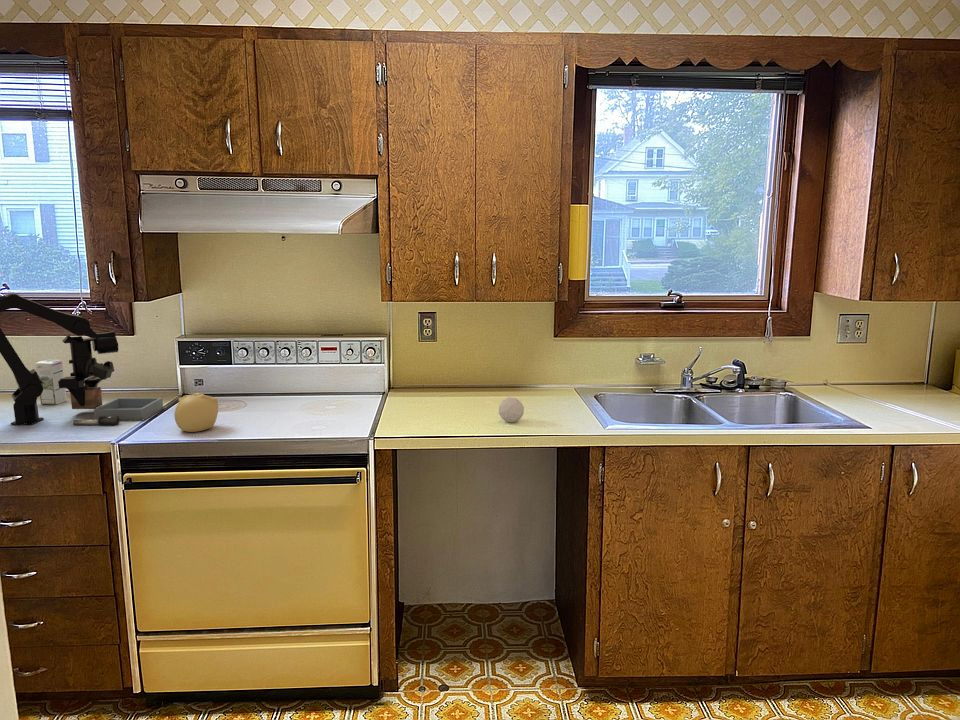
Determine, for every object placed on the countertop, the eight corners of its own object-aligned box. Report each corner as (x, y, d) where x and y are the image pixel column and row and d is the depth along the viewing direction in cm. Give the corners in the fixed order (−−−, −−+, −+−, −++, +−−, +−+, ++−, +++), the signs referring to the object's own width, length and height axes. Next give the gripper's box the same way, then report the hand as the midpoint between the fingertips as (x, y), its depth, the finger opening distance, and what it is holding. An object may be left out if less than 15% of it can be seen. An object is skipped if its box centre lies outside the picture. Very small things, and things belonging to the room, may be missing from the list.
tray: (142, 420, 216) (141, 409, 216) (95, 420, 216) (93, 409, 216) (163, 408, 231) (162, 397, 230) (118, 408, 231) (117, 398, 230)
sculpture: (224, 423, 213) (221, 389, 211) (209, 435, 201) (206, 398, 199) (186, 423, 213) (183, 389, 211) (169, 435, 201) (166, 398, 199)
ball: (517, 431, 214) (527, 414, 209) (493, 423, 213) (503, 405, 208) (519, 413, 220) (529, 397, 215) (495, 405, 219) (505, 388, 214)
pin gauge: (119, 423, 213) (118, 415, 213) (115, 425, 211) (114, 417, 210) (76, 423, 213) (75, 415, 213) (72, 426, 210) (71, 417, 210)
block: (94, 409, 222) (92, 390, 220) (71, 409, 222) (69, 390, 220) (103, 405, 227) (101, 386, 226) (80, 405, 227) (78, 386, 226)
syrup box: (67, 400, 241) (62, 359, 238) (55, 405, 235) (50, 362, 232) (52, 400, 241) (47, 359, 239) (39, 404, 236) (34, 362, 233)
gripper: (91, 361, 212) (96, 411, 215) (122, 350, 230) (126, 396, 233) (54, 361, 212) (60, 411, 215) (88, 350, 230) (93, 396, 233)
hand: (87, 403), depth 224 cm, fingers closed on block, 5 cm apart
